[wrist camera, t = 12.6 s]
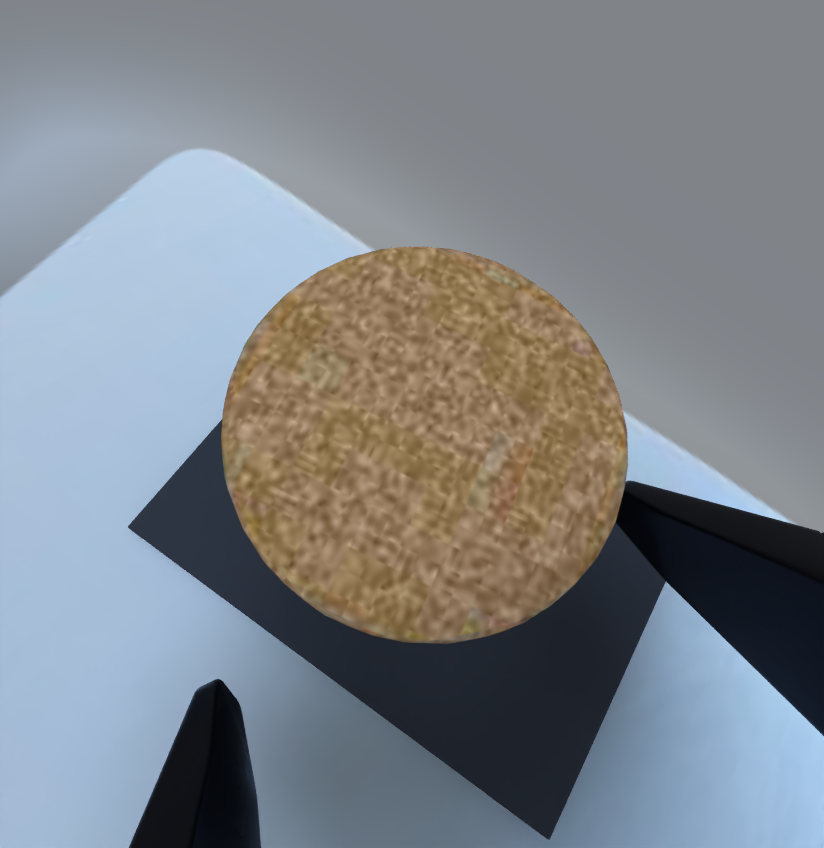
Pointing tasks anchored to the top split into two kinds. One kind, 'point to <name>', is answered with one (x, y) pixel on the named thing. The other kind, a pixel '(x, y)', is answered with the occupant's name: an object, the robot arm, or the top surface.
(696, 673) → the top surface
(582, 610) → the desk mat
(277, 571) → the cork-stoppered jar
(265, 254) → the top surface
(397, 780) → the top surface
